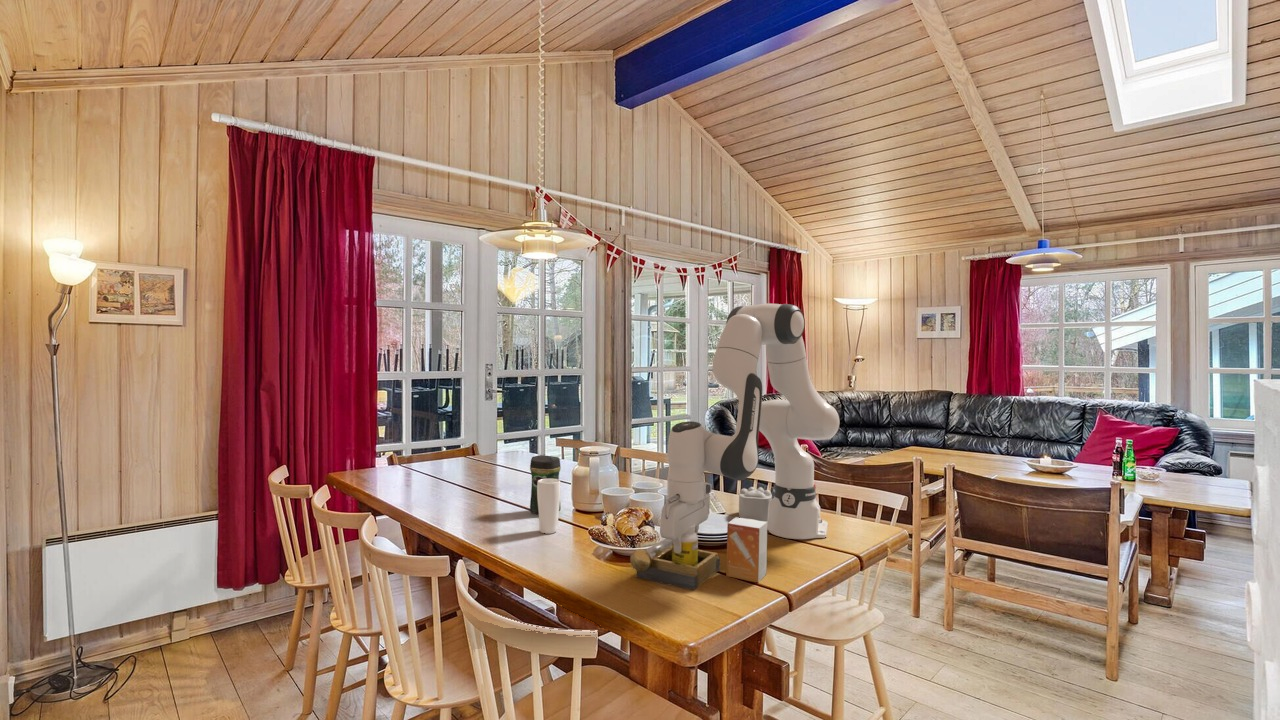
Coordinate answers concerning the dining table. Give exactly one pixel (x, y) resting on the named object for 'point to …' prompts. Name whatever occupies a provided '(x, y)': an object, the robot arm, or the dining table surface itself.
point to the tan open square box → (673, 566)
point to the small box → (746, 549)
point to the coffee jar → (542, 475)
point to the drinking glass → (548, 504)
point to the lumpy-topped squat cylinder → (754, 503)
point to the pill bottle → (687, 549)
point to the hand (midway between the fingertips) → (685, 547)
